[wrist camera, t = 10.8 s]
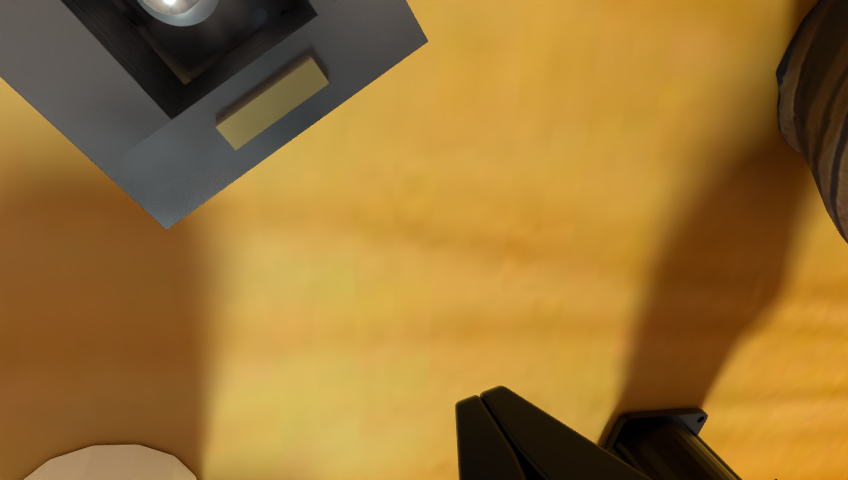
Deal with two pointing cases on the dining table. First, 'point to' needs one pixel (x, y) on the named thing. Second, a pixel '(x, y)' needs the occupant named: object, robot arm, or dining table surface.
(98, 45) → the grey knob housing box
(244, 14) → the hub
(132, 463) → the white cup
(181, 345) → the dining table surface
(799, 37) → the ceramic jug
